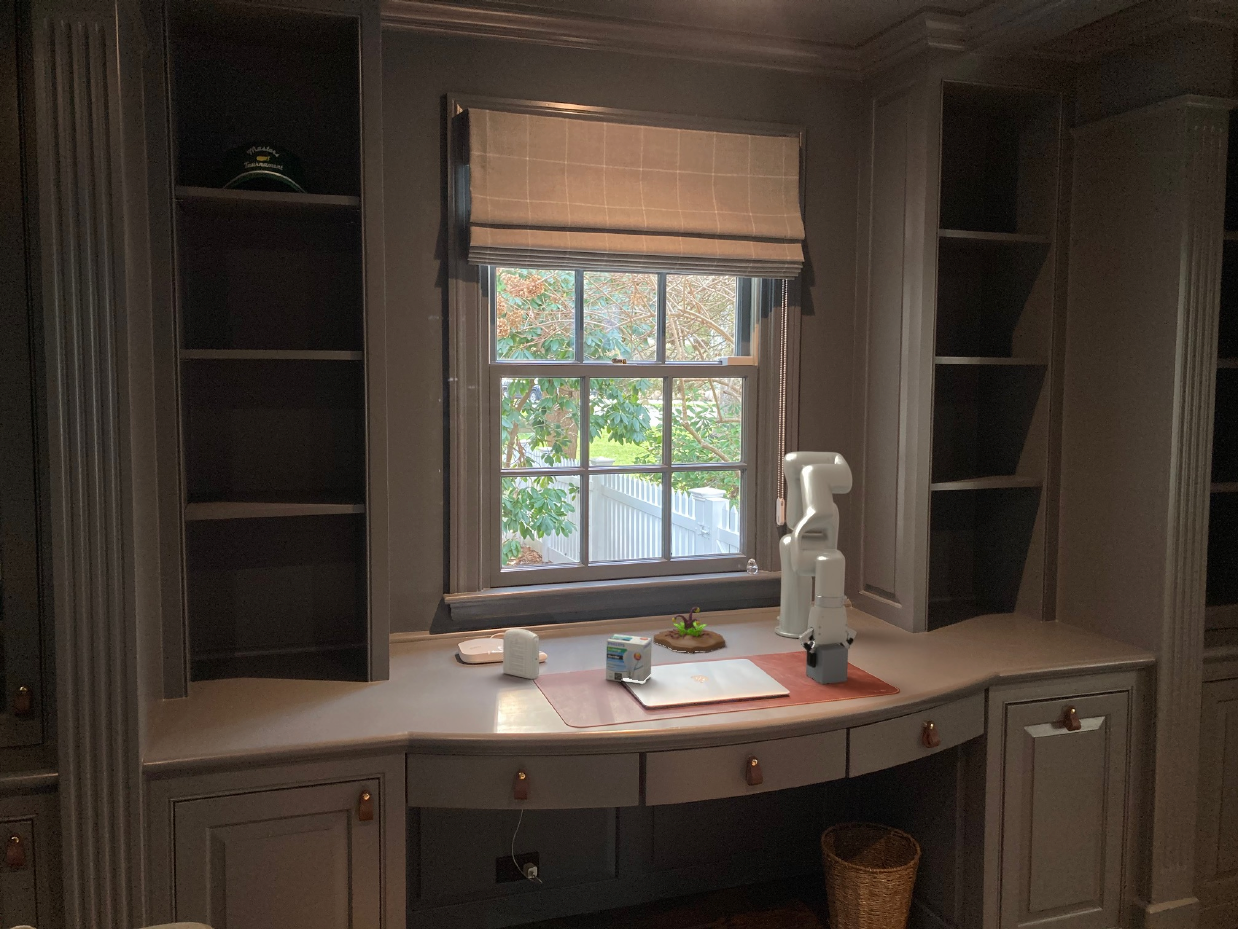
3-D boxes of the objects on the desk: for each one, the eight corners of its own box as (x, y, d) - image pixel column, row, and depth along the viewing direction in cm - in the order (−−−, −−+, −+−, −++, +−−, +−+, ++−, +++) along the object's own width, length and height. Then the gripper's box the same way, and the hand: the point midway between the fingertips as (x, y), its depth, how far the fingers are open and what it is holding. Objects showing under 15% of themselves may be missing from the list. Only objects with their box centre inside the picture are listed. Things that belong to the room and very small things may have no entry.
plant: (737, 648, 272) (738, 611, 271) (684, 658, 262) (685, 619, 261) (695, 632, 289) (696, 597, 288) (645, 641, 278) (645, 604, 277)
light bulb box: (605, 680, 240) (605, 639, 239) (614, 672, 246) (614, 633, 246) (643, 685, 237) (644, 644, 236) (651, 677, 243) (652, 637, 242)
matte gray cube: (805, 675, 246) (806, 643, 245) (830, 672, 249) (831, 640, 248) (822, 684, 239) (823, 651, 238) (846, 681, 242) (848, 648, 241)
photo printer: (541, 676, 243) (541, 630, 241) (532, 680, 239) (532, 634, 238) (510, 669, 248) (510, 625, 247) (500, 674, 244) (500, 628, 243)
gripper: (848, 595, 249) (845, 657, 250) (793, 600, 242) (791, 663, 244) (865, 602, 242) (862, 665, 243) (808, 607, 235) (806, 672, 237)
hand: (826, 664), depth 243 cm, fingers open, 9 cm apart
